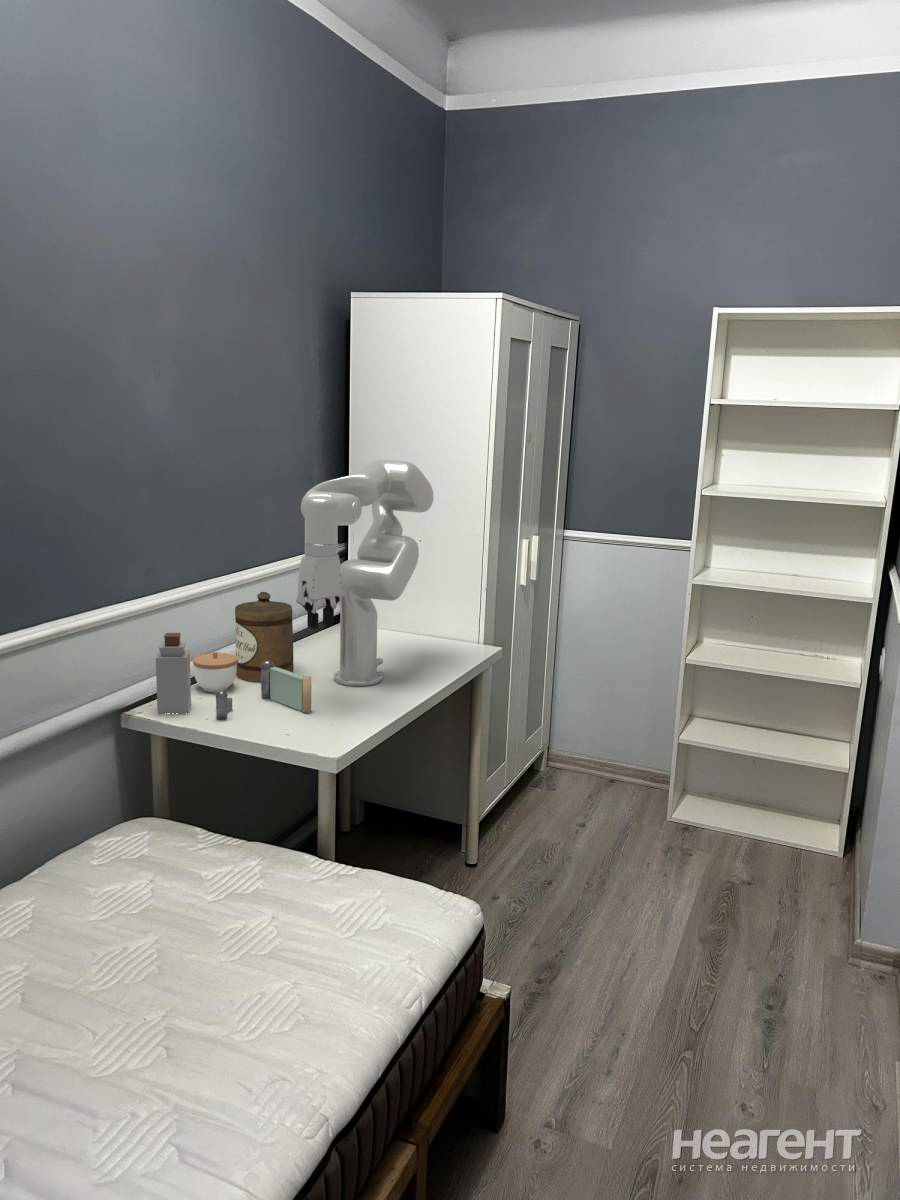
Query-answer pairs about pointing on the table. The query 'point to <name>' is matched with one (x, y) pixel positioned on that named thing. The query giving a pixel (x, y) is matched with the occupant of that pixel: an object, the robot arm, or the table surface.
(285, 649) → the wooden container
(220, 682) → the lidded jar
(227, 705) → the post
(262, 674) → the hinge post
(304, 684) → the gate
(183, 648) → the perfume bottle
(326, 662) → the table surface
